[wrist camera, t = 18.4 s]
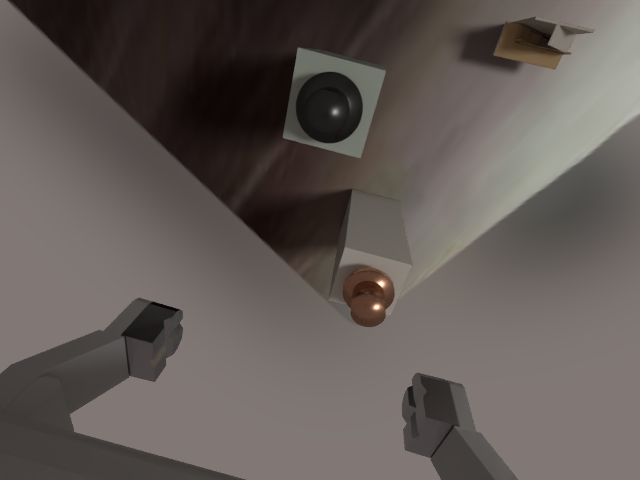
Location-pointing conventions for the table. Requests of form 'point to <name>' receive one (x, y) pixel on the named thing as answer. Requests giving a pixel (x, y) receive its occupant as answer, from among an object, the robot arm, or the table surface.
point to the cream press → (371, 243)
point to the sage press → (357, 70)
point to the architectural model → (537, 41)
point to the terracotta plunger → (368, 295)
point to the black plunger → (329, 107)
